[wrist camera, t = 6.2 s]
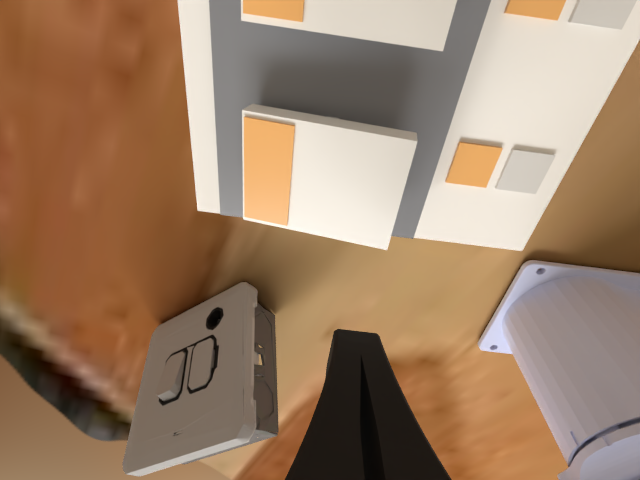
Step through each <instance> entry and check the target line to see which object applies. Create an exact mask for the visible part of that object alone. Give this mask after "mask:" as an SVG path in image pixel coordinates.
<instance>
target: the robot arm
mask: <svg viewBox="0 0 640 480" xmlns="http://www.w3.org/2000/svg"><path fill="white" fill-rule="evenodd" d="M540 268H541V269H540ZM538 269H540V270H538ZM478 346H479V348H480V349H481V350H483V351H491V352H499V353H508V354H513V355H514V357H515V359H516V361H517V363H518V365H519V367H520V370H521V372H522V374H523V376H524V378H525V380H526V382H527V384H528V386H529V388H530V390H531V392H532V394H533V396H534V398H535V400H536V402H537V404H538V406H539V408H540V410H541V412H542V414H543V416H544V418H545V420H546V422H547V424H548V426H549V428H550V430H551V432H552V434H553V436H554V438H555V440H556V442H557V444H558V446H559V448H560V450H561V452H562V454H563V456H564V458H565V460H566V462H567V464H568V466H569V468H568V469H566V470H565V471H563V472H561V473H559V474H558V478H559V480H640V273H634V272H626V271H618V270H610V269H602V268H594V267H585V266H577V265H569V264H561V263H553V262H545V261H537V260H530V261H527V262H525V263H524V264H523V265H522V266H521V268H520V270H519V271H518V273H517V275H516V277H515V278H514V280H513V282H512V284H511V285H510V287H509V289H508V291H507V292H506V294H505V296H504V298H503V299H502V301H501V303H500V305H499V306H498V308H497V310H496V312H495V313H494V315H493V317H492V319H491V320H490V322H489V324H488V326H487V327H486V329H485V331H484V333H483V334H482V336H481V338H480V340H479V341H478ZM285 480H451V478H450V477H449V475H448V473H447V472H446V470H445V469H444V467H443V465H442V464H441V462H440V461H439V459H438V457H437V456H436V454H435V452H434V451H433V449H432V447H431V445H430V444H429V442H428V440H427V438H426V437H425V435H424V433H423V431H422V429H421V428H420V426H419V424H418V422H417V420H416V418H415V416H414V414H413V413H412V411H411V409H410V407H409V405H408V403H407V400H406V398H405V396H404V394H403V392H402V390H401V388H400V386H399V384H398V382H397V379H396V377H395V375H394V373H393V370H392V368H391V366H390V363H389V361H388V358H387V356H386V353H385V351H384V348H383V345H382V343H381V340H380V337H379V335H378V334H376V333H368V332H359V331H351V330H342V329H337V330H335V331H334V334H333V339H332V344H331V348H330V353H329V358H328V363H327V369H326V379H325V383H324V386H323V390H322V393H321V396H320V398H319V401H318V404H317V406H316V409H315V412H314V415H313V417H312V420H311V422H310V425H309V427H308V430H307V432H306V435H305V437H304V439H303V442H302V444H301V446H300V448H299V451H298V453H297V455H296V457H295V460H294V462H293V464H292V466H291V468H290V470H289V472H288V474H287V476H286V478H285Z"/></svg>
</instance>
